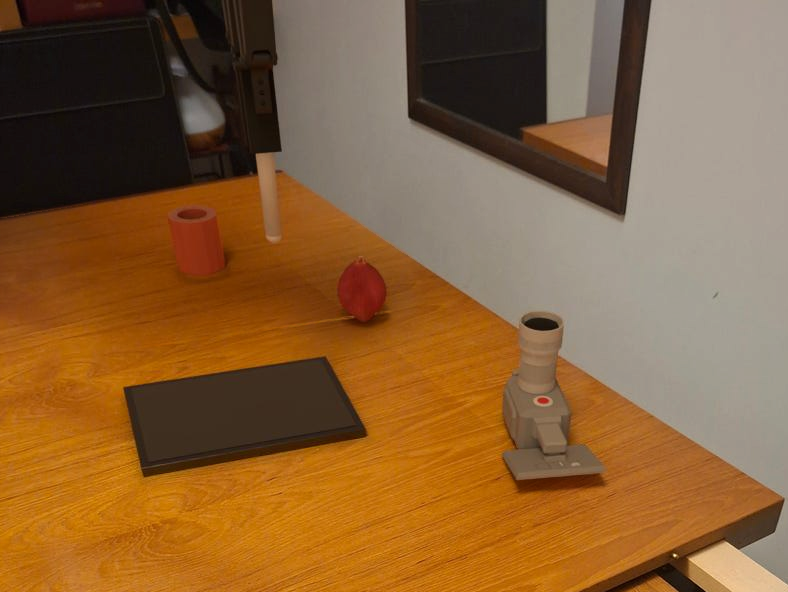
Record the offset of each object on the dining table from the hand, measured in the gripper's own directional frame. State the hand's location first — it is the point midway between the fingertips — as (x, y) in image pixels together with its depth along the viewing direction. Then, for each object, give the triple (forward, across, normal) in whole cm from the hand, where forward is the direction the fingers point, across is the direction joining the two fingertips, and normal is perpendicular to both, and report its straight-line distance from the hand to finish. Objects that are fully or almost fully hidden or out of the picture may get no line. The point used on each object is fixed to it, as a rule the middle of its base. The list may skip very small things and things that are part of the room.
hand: (263, 147), depth 81 cm
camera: (+24, -20, -21) cm, 38 cm away
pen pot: (+24, +34, +4) cm, 42 cm away
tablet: (+24, -4, +6) cm, 25 cm away
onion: (+24, +13, -12) cm, 30 cm away
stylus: (+8, 0, 0) cm, 8 cm away
